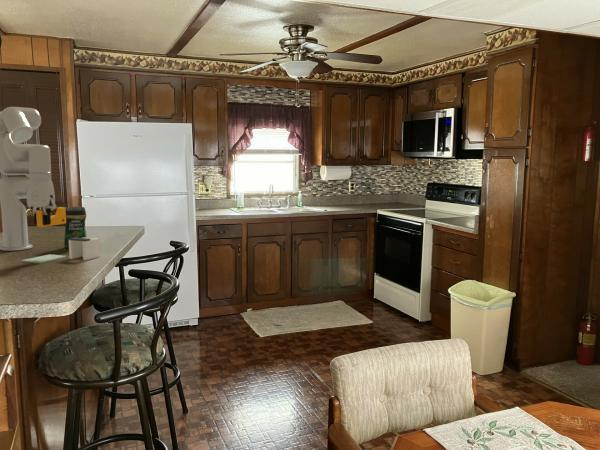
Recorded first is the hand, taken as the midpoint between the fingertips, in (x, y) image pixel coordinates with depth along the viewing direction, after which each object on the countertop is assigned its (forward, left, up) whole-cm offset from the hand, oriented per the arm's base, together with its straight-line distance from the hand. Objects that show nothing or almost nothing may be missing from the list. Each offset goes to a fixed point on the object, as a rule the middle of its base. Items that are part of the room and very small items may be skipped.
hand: (42, 223), depth 195 cm
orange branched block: (0, +4, -1) cm, 4 cm away
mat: (-1, +1, -14) cm, 14 cm away
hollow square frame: (+11, +9, -14) cm, 20 cm away
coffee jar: (-10, +27, -15) cm, 32 cm away
